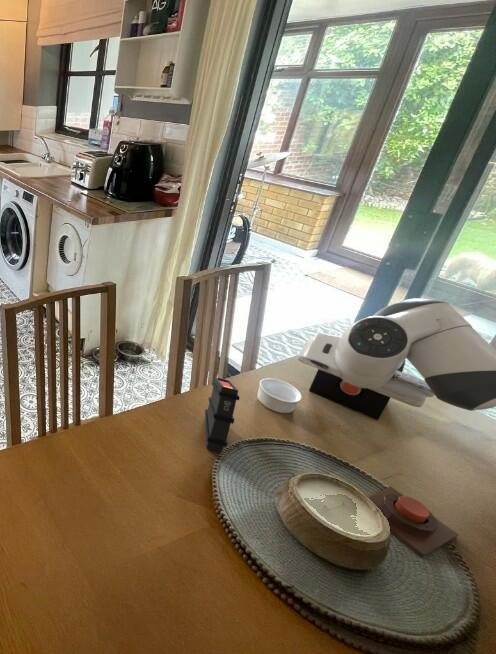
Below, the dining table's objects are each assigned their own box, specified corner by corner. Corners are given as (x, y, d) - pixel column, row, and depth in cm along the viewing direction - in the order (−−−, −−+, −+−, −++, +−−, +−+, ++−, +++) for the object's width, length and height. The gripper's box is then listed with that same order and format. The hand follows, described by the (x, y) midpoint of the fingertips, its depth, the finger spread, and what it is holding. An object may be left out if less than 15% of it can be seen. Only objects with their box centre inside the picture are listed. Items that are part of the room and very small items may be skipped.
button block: (451, 544, 72) (464, 528, 70) (416, 564, 69) (429, 548, 67) (384, 495, 81) (394, 479, 79) (351, 511, 78) (361, 495, 76)
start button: (430, 519, 72) (435, 512, 71) (416, 526, 71) (421, 520, 70) (403, 499, 76) (407, 493, 75) (389, 506, 74) (393, 499, 74)
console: (377, 420, 99) (399, 381, 94) (308, 390, 108) (325, 353, 103) (385, 397, 106) (405, 360, 101) (319, 371, 116) (335, 336, 111)
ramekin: (287, 394, 107) (293, 381, 105) (302, 418, 99) (308, 404, 98) (250, 388, 109) (254, 375, 107) (261, 411, 101) (267, 398, 99)
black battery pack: (206, 454, 87) (220, 386, 87) (199, 434, 100) (212, 375, 99) (226, 460, 86) (240, 391, 86) (217, 440, 98) (229, 379, 98)
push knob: (357, 398, 99) (363, 385, 97) (337, 390, 101) (343, 378, 100) (359, 393, 100) (365, 380, 99) (339, 385, 103) (345, 373, 101)
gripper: (446, 376, 73) (425, 393, 83) (308, 328, 87) (305, 348, 97) (432, 407, 72) (413, 421, 82) (295, 354, 86) (293, 371, 96)
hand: (353, 381), depth 89 cm, fingers closed
